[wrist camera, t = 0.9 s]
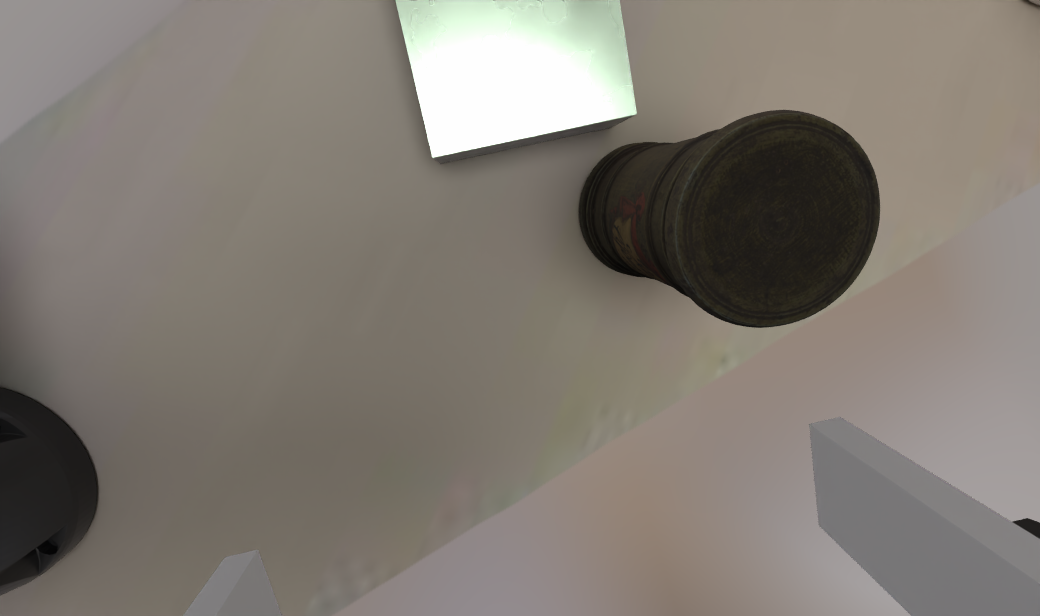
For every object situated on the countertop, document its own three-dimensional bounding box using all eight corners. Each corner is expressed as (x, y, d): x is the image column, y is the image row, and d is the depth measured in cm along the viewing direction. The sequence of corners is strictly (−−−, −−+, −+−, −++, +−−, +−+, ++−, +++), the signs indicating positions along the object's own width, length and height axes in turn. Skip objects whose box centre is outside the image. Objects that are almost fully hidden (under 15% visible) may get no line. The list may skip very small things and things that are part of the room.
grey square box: (440, 163, 36) (432, 157, 30) (392, -40, 33) (373, -90, 27) (611, 127, 36) (636, 114, 30) (578, -77, 33) (599, -135, 28)
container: (615, 121, 36) (744, 50, 19) (723, 183, 38) (937, 172, 20) (554, 238, 38) (620, 275, 20) (660, 294, 39) (809, 374, 21)
